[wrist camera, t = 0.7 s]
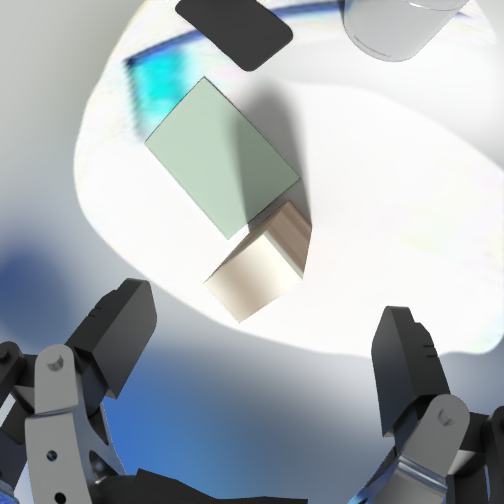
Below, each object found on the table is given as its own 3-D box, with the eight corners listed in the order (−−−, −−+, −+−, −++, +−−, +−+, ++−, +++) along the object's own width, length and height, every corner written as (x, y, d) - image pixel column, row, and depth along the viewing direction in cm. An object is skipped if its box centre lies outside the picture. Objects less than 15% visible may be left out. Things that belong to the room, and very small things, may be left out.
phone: (213, -28, 24) (297, 34, 25) (216, -25, 24) (298, 36, 26) (171, 8, 26) (247, 74, 28) (174, 11, 27) (249, 76, 29)
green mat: (204, 78, 29) (203, 77, 29) (300, 178, 31) (299, 178, 31) (145, 143, 34) (144, 143, 33) (228, 239, 35) (227, 240, 35)
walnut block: (288, 199, 32) (263, 234, 19) (312, 227, 32) (302, 280, 20) (249, 232, 34) (202, 284, 22) (271, 258, 35) (239, 323, 22)
